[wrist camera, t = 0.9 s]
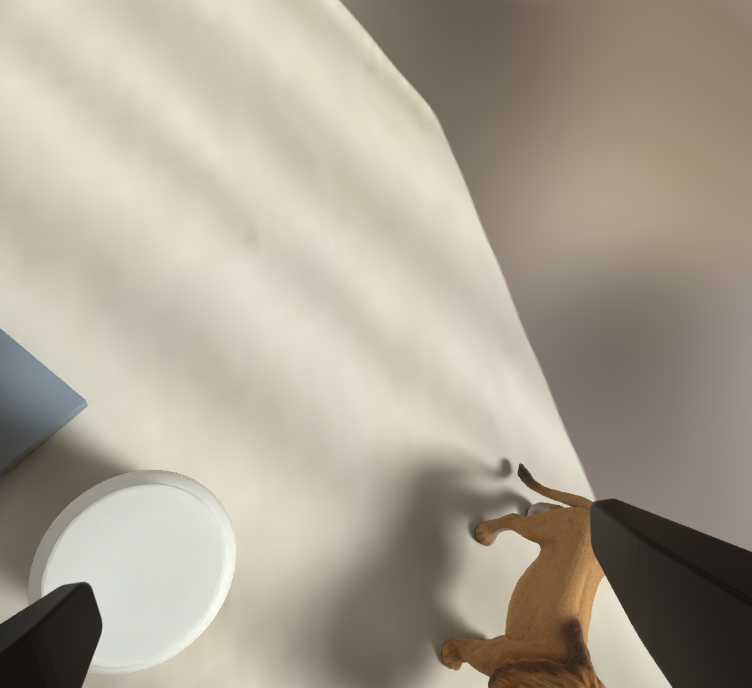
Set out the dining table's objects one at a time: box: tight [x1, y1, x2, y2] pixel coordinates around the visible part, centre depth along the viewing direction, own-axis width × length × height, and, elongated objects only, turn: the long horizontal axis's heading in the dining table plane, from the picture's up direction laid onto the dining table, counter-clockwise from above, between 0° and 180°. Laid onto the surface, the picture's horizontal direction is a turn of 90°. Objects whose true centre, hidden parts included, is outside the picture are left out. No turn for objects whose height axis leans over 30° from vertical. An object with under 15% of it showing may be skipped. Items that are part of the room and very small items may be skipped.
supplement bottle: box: [28, 470, 236, 674], centre depth 15 cm, size 5×5×10 cm
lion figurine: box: [441, 463, 606, 688], centre depth 22 cm, size 15×5×9 cm, turn 161°
